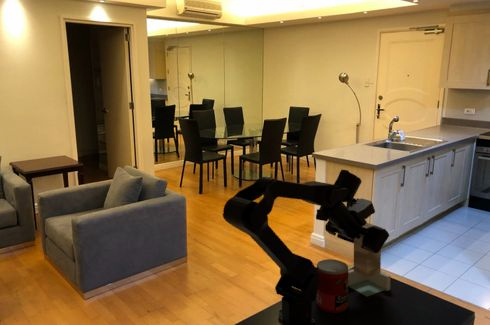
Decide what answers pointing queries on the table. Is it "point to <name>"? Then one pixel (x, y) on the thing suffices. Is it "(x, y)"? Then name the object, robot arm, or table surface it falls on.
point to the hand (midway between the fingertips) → (370, 247)
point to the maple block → (366, 258)
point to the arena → (368, 283)
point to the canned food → (332, 285)
